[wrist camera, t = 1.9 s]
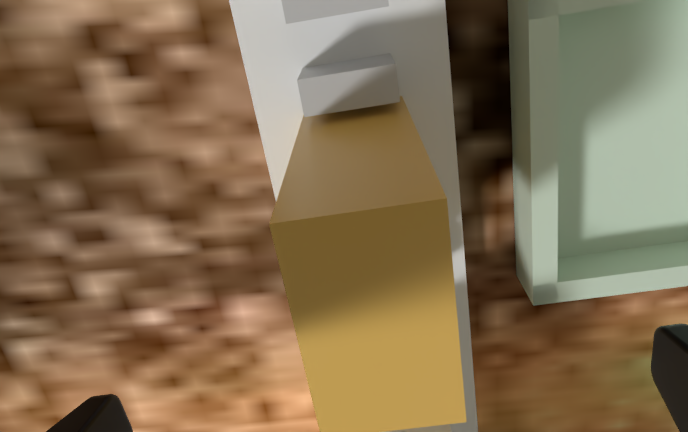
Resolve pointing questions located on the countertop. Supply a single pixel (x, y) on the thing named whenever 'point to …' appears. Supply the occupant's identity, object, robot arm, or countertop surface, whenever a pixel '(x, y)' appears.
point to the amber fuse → (370, 273)
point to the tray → (599, 146)
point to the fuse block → (359, 93)
